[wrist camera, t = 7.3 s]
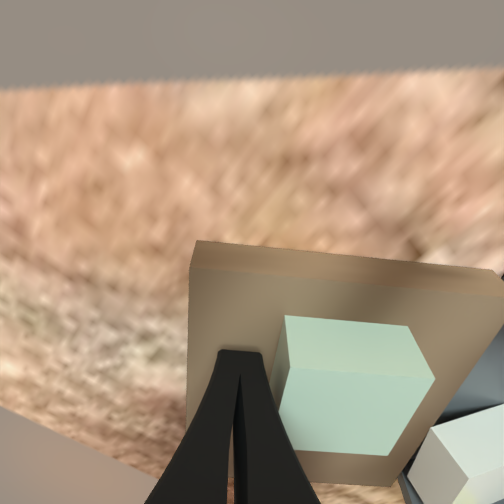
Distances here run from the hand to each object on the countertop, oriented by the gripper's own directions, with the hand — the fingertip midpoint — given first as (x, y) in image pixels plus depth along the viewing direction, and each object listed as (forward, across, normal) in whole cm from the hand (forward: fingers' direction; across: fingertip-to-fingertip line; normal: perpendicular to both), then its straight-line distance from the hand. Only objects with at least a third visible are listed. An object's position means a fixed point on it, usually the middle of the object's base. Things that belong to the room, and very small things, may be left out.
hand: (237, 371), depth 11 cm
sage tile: (+1, -3, 0) cm, 3 cm away
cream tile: (+1, -10, +5) cm, 12 cm away
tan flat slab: (+2, -3, +2) cm, 5 cm away
